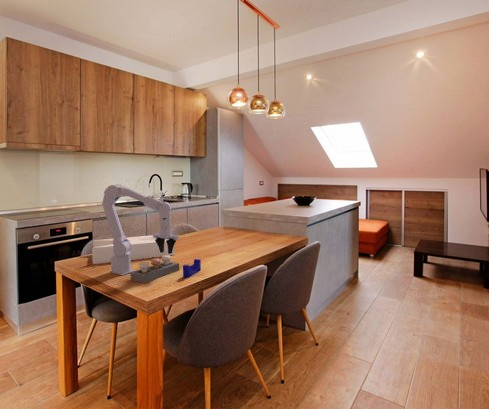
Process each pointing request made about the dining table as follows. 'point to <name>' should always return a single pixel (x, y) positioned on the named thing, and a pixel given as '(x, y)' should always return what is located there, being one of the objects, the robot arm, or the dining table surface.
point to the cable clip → (192, 268)
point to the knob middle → (155, 263)
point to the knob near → (144, 266)
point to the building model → (139, 249)
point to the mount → (154, 272)
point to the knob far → (166, 259)
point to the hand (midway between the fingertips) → (166, 252)
